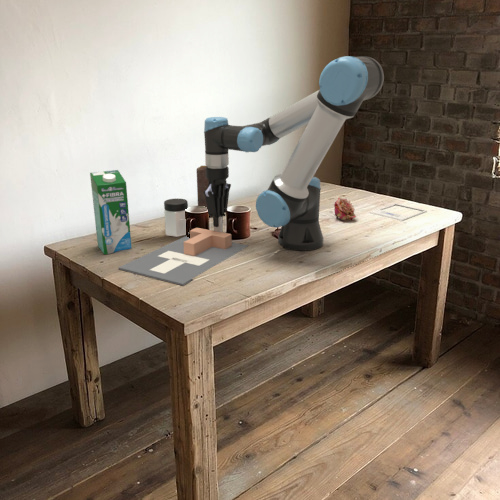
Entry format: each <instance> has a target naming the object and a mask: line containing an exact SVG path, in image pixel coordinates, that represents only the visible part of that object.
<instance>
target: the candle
mask: <svg viewBox="0 0 500 500" xmlns="http://www.w3.org/2000/svg"><path fill="white" fill-rule="evenodd" d="M206 167H207V166H206V165H200V166H199V167H197V168H196V187H197V188H196V189H197V193H196V194H197V207H198V206H205V207H207V203H206V198H205V195H204V193H203V191H204V190H207V189H208V182H209V180H208V179H207V178H206V169H205V168H206ZM210 218H212V217H211V216H210Z"/></svg>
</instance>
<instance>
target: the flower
mask: <svg viewBox="0 0 500 500" xmlns="http://www.w3.org/2000/svg"><path fill="white" fill-rule="evenodd" d="M333 205H334V207H333V208H334V214H333V215H334V216H335V219H338V218H339V220H341V221H342V222H343V223H344V221H345V220H346V221H347V220H350V221H351V220H353V219H354V218H356V217H357V216H356V214H355V208H354V206H353V203H352V202H351V200H348V199H347V198H341V197H338V198H337V200H336V201H335V202H334V204H333Z"/></svg>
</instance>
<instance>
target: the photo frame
mask: <svg viewBox="0 0 500 500" xmlns="http://www.w3.org/2000/svg"><path fill="white" fill-rule="evenodd" d="M395 206H400V207H403V208H408V209H412V210H417V211H420V212H417V213H414V214H411V215H409V216H407V215H402V214H398V213H395V212H390V211H386V209H389V208H391V207H395ZM427 212H428V211H427V210H426V209H422V208H421V209H420V208H417V207H413V206H409V205H403V204H398V203H392V204H390V205H388V206H384V207H381V208H378V209H374V210H371V211H369V213H370V214H373V215H376V216H379V217H384V218H387V219H392V220H395V221H400V222H404V221H406V220H409V219H412V218H413V217H418V216H419V215H423V214H425V213H427Z"/></svg>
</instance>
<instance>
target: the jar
mask: <svg viewBox="0 0 500 500" xmlns="http://www.w3.org/2000/svg"><path fill="white" fill-rule="evenodd" d="M163 207H164V212H163V213H164V226H165V229H164V230H165V235H166V236H168V237H169V236H171V237H182V236H183V237H184V236H187V235H186V219H185V209H187V208H189V203H188V200H187V199H184V198H169V199H166V200H164V202H163Z"/></svg>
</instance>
